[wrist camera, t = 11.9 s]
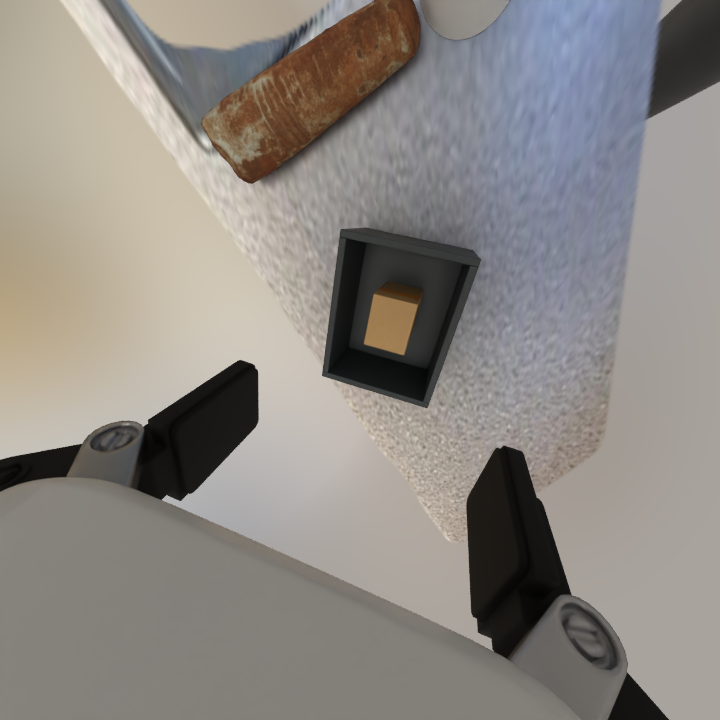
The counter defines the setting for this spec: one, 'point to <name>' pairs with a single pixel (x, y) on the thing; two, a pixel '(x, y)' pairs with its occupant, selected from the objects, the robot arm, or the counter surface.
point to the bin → (433, 321)
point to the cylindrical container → (461, 16)
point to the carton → (392, 317)
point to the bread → (312, 88)
